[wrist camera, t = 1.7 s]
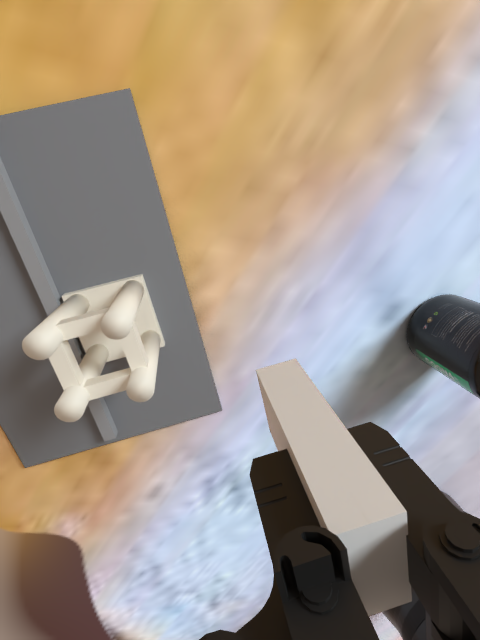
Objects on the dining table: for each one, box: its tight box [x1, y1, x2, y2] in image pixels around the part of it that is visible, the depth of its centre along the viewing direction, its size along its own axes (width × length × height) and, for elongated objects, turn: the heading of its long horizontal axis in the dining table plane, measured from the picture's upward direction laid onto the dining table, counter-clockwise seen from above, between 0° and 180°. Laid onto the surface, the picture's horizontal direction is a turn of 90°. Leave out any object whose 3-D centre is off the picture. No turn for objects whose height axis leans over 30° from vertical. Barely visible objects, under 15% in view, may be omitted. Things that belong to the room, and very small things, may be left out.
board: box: [0, 88, 222, 468], centre depth 27 cm, size 26×18×1 cm
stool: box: [22, 274, 165, 422], centre depth 24 cm, size 6×6×9 cm
